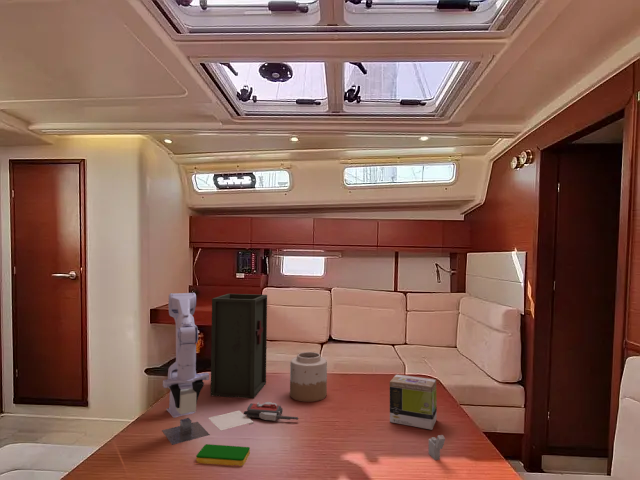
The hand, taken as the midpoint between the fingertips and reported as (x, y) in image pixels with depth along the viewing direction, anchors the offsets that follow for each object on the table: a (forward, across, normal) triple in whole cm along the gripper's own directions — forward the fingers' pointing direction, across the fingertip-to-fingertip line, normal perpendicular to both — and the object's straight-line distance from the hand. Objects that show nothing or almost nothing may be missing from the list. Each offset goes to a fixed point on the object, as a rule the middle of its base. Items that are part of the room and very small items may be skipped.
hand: (186, 405), depth 134 cm
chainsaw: (+9, +30, -4) cm, 32 cm away
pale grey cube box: (+2, 0, 0) cm, 2 cm away
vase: (+10, +53, +7) cm, 54 cm away
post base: (+9, 0, 0) cm, 9 cm away
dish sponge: (+10, +4, -21) cm, 24 cm away
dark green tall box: (+10, +32, +29) cm, 44 cm away
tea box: (+10, +70, -35) cm, 79 cm away
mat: (+9, +16, +1) cm, 19 cm away
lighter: (+10, +56, -57) cm, 80 cm away
